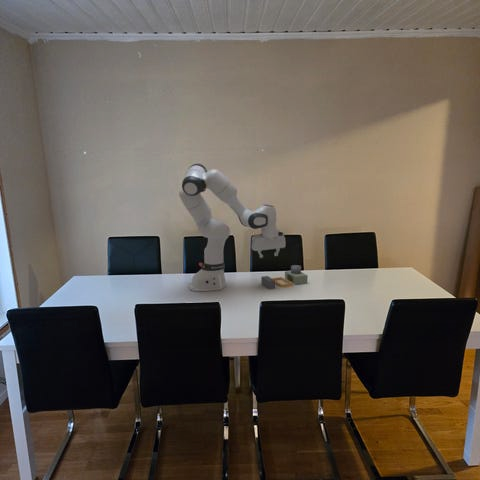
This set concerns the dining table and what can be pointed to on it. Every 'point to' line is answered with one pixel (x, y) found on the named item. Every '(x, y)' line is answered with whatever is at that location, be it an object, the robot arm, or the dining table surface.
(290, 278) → the grey and tan shapes
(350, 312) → the dining table surface
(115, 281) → the dining table surface
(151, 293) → the dining table surface
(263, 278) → the dark grey block
